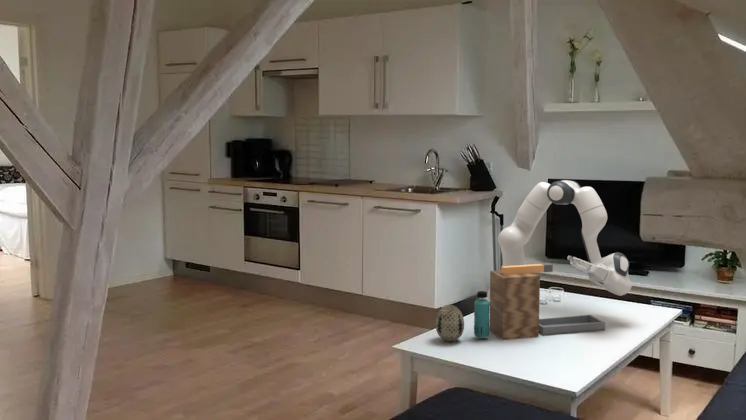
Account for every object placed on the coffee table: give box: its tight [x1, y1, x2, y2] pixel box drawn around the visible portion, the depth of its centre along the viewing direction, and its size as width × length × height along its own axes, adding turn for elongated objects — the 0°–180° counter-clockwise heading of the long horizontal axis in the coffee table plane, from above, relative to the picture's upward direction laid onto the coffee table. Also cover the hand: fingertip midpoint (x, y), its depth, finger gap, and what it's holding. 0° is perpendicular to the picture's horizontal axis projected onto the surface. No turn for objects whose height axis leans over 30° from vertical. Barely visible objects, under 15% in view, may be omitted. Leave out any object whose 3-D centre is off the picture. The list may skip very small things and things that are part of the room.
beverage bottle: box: [473, 290, 490, 338], centre depth 290 cm, size 6×7×20 cm
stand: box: [489, 269, 541, 341], centre depth 297 cm, size 16×14×26 cm
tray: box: [539, 314, 606, 337], centre depth 304 cm, size 29×12×4 cm, turn 103°
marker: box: [500, 262, 554, 275], centre depth 296 cm, size 22×3×3 cm, turn 103°
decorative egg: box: [435, 304, 465, 342], centre depth 288 cm, size 12×12×15 cm
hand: (574, 259), depth 301 cm, fingers open, 8 cm apart
